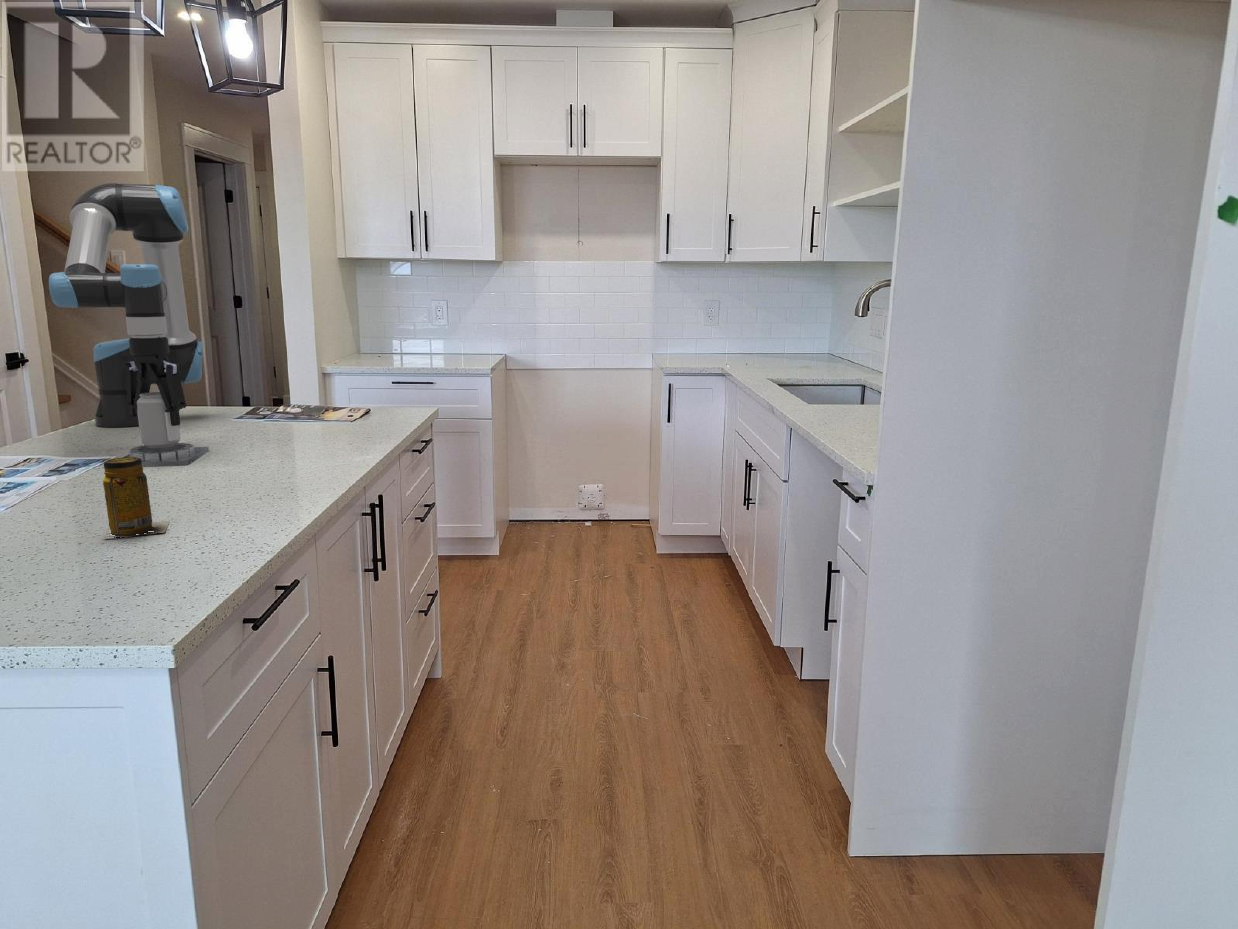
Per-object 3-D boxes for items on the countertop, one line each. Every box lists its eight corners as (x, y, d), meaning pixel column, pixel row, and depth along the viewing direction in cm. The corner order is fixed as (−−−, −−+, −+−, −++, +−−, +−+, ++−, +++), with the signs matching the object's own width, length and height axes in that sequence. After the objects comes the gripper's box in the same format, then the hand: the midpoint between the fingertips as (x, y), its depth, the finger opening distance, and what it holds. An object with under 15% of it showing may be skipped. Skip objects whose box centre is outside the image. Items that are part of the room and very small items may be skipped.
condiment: (111, 527, 132) (101, 456, 130) (169, 522, 136) (161, 452, 133) (104, 540, 126) (93, 466, 123) (165, 534, 129) (156, 462, 127)
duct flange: (140, 452, 188) (138, 442, 187) (208, 450, 190) (207, 440, 190) (113, 467, 173) (111, 456, 173) (187, 465, 176) (186, 454, 175)
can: (157, 441, 185) (150, 390, 182) (187, 442, 184) (181, 391, 182) (134, 448, 178) (127, 394, 175) (166, 449, 177) (159, 395, 174)
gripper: (197, 336, 176) (208, 438, 181) (129, 333, 182) (142, 432, 188) (168, 339, 169) (180, 445, 174) (98, 335, 175) (112, 438, 181)
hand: (160, 438), depth 181 cm, fingers closed on can, 7 cm apart
